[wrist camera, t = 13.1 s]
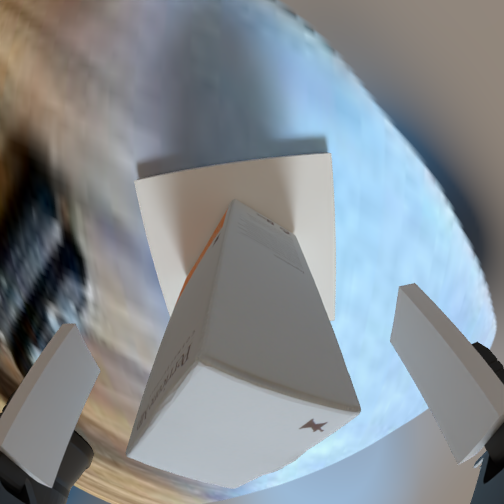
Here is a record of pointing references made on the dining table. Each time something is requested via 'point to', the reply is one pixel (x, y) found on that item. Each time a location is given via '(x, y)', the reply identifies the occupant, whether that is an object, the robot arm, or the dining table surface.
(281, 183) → the coaster
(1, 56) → the dining table surface
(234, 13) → the dining table surface
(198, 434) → the skincare box
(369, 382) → the dining table surface
